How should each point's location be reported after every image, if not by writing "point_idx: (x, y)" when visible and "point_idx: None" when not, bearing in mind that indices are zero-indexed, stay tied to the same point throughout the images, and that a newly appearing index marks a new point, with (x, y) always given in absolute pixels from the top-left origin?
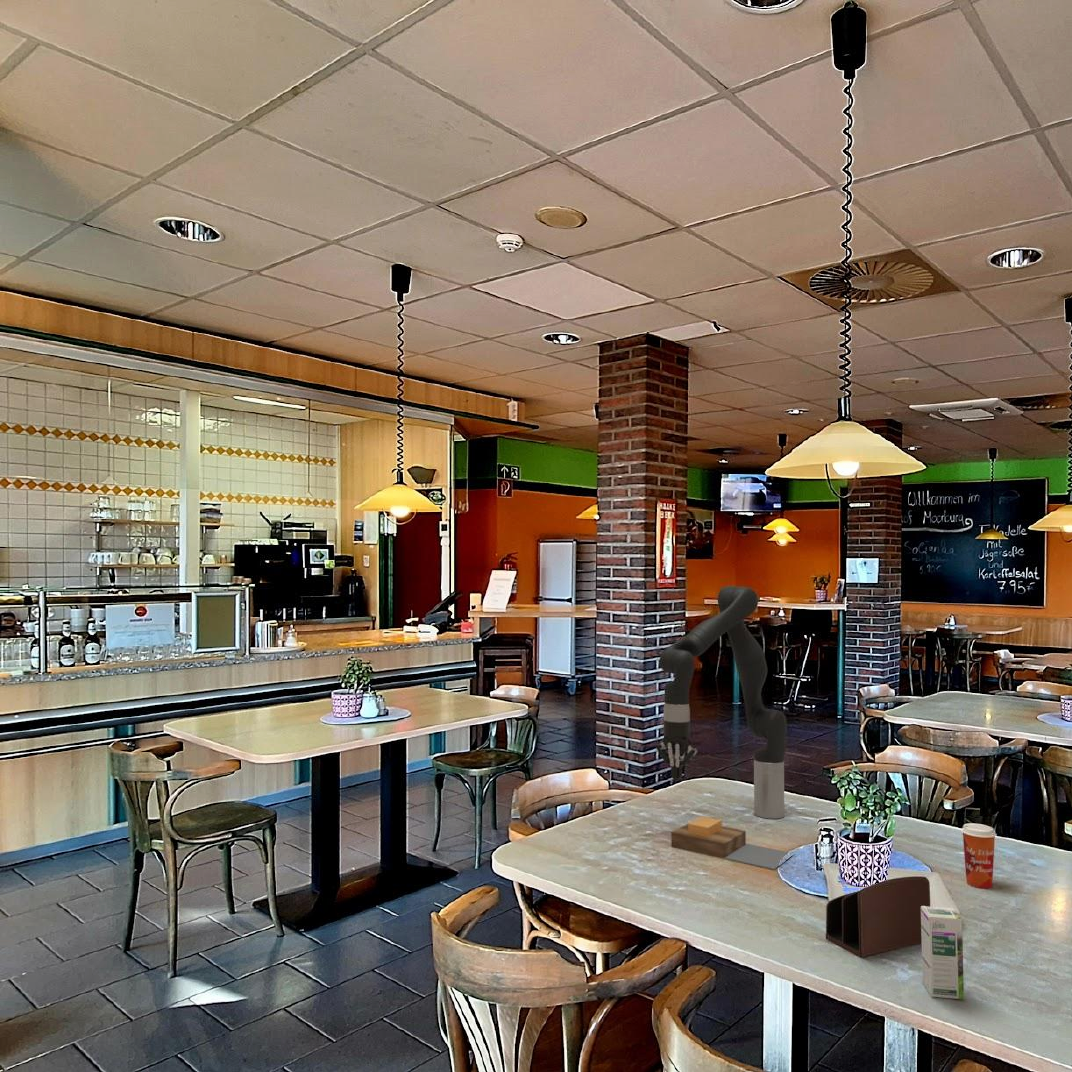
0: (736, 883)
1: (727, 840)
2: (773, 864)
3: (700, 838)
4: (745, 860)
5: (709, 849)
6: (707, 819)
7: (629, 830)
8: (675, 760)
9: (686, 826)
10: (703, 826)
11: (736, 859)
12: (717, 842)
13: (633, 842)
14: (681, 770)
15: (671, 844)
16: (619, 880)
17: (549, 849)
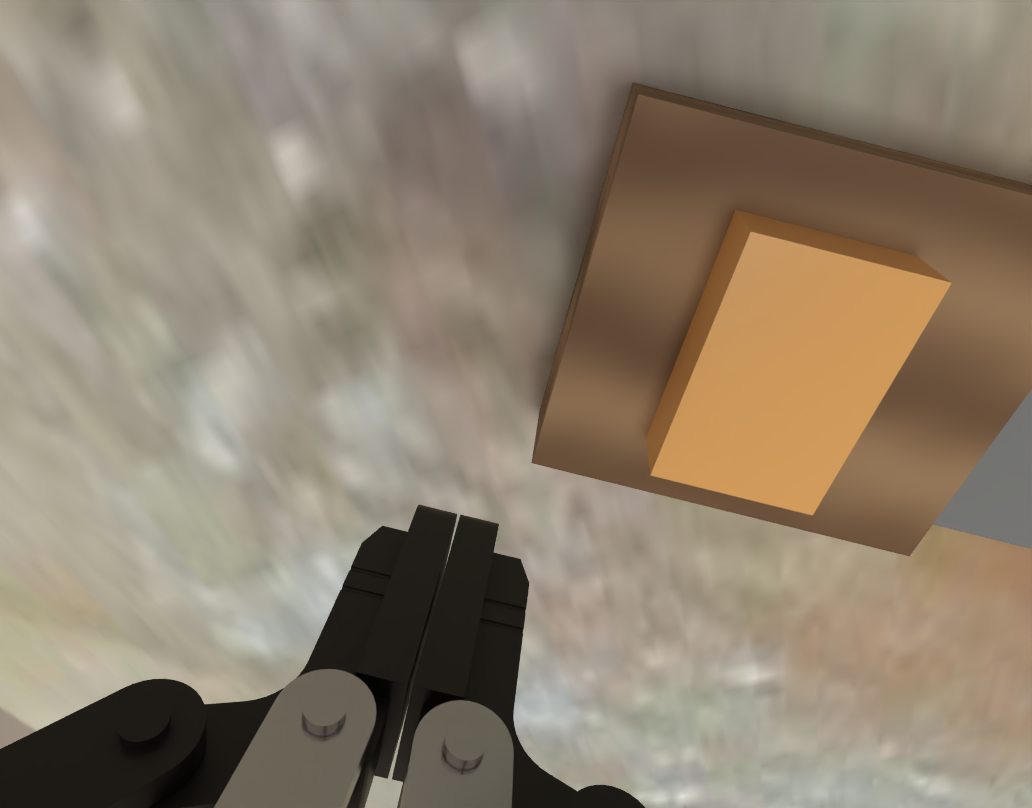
0: (908, 732)
1: (935, 500)
2: None
3: (741, 513)
4: (1003, 515)
5: None
6: (803, 312)
7: (171, 193)
8: (304, 801)
9: (605, 301)
10: (774, 500)
11: (947, 516)
12: (858, 540)
13: (315, 413)
14: (511, 682)
15: (538, 419)
16: None
17: (58, 610)
